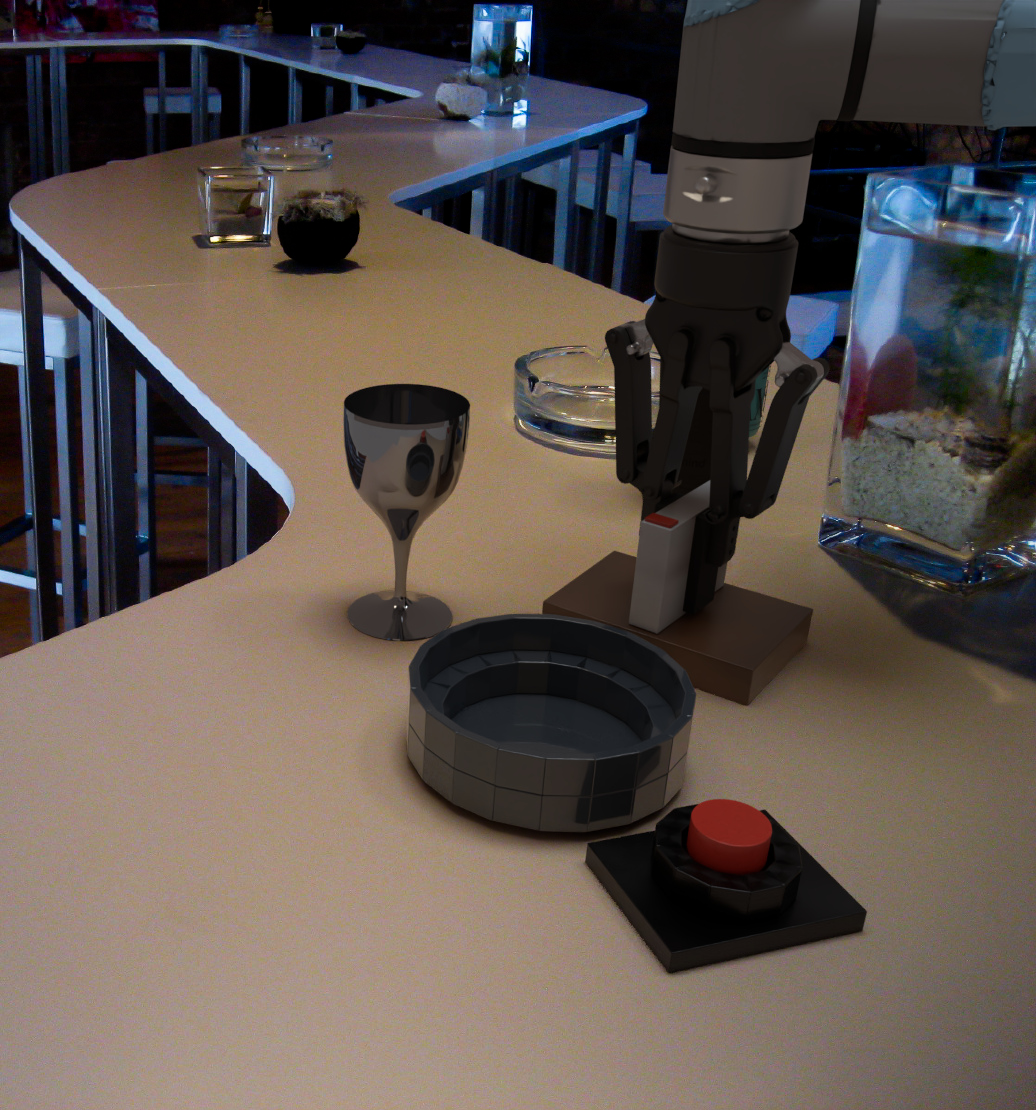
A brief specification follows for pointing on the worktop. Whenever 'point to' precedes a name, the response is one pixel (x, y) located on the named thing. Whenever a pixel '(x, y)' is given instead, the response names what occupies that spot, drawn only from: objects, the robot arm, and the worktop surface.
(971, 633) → the worktop surface
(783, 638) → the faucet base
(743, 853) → the button
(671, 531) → the block
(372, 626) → the wine glass
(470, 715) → the basin
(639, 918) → the switch
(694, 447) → the drinking cup
